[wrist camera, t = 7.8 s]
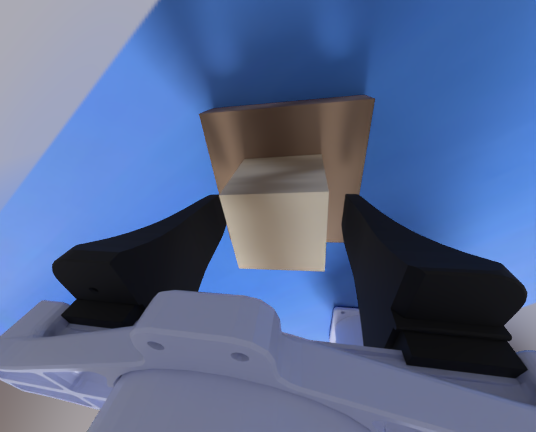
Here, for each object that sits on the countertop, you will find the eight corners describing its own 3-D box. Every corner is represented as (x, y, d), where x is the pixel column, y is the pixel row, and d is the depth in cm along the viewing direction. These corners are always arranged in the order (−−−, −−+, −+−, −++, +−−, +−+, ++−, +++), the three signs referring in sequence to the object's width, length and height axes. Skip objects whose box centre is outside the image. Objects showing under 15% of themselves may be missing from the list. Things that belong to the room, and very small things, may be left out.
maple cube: (321, 154, 13) (329, 191, 9) (319, 219, 16) (324, 271, 12) (244, 159, 14) (219, 195, 10) (255, 220, 17) (239, 268, 13)
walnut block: (362, 93, 13) (375, 98, 11) (345, 220, 19) (351, 242, 17) (216, 107, 15) (199, 113, 13) (239, 219, 21) (230, 239, 18)
